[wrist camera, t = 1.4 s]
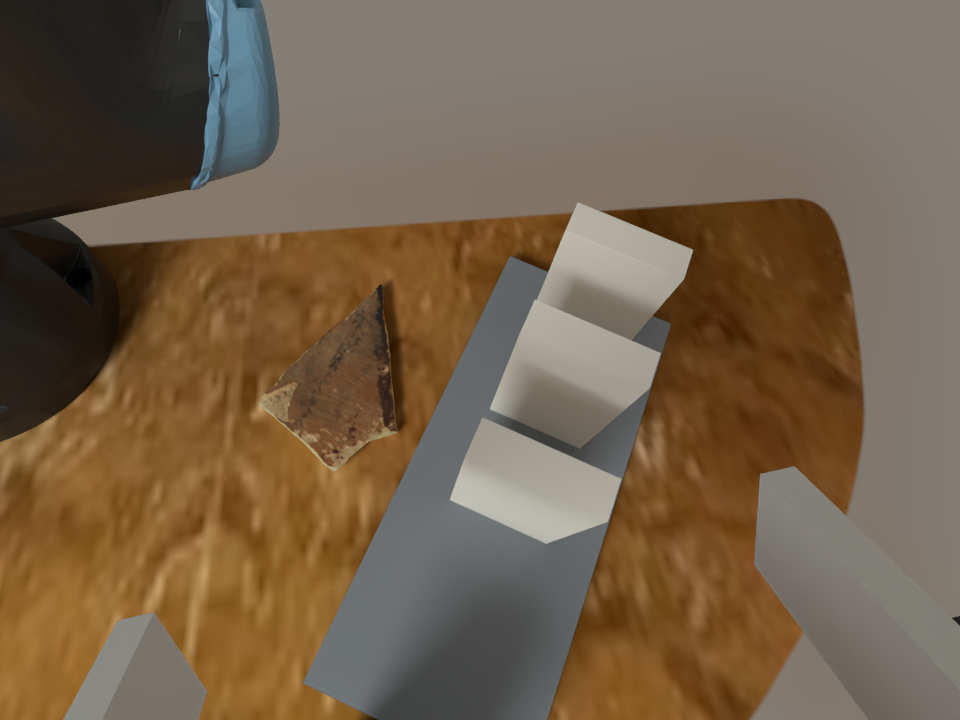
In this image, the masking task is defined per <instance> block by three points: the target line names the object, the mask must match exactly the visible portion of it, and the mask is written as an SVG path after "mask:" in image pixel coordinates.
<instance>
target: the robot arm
mask: <svg viewBox="0 0 960 720" xmlns="http://www.w3.org/2000/svg"><path fill="white" fill-rule="evenodd" d="M278 136H279V103H278V92H277V83H276V76H275V69H274V62H273V56H272V50H271V44H270V38H269V33H268V29H267V23H266V18H265V14H264V10H263V7H262V5H261V2H260V0H0V442H1V441H4V440H6V439H9V438H12V437H14V436H16V435H19V434H21V433H23V432H25V431H27V430H29V429H31V428H33V427H35V426H36V425H38V424H40V423H42V422H43V421H45V420H46V419H48V418H49V417H51V416H52V415H54V414H55V413H57V412H58V411H59V410H61V409H62V408H63V407H64V406H66V405H67V404H68V403H69V402H70V401H71V400H73V399H74V398H75V397H76V396H77V395H78V394H79V393H80V392H81V391H82V390H83V389H84V388H85V387H86V385H87V384H88V383H89V382H90V381H91V379H92V378H93V377H94V375H95V374H96V373H97V371H98V370H99V368H100V367H101V365H102V364H103V362H104V360H105V358H106V356H107V354H108V352H109V350H110V348H111V346H112V343H113V340H114V337H115V333H116V330H117V324H118V317H119V302H118V295H117V290H116V286H115V283H114V281H113V278H112V276H111V274H110V272H109V270H108V269H107V267H106V266H105V264H104V263H103V262H102V261H101V259H100V258H99V257H98V256H97V255H96V254H95V253H94V252H93V251H92V250H91V249H90V248H89V247H88V246H87V245H86V244H85V243H84V242H83V241H82V240H81V239H80V238H79V237H78V236H77V235H76V234H75V233H74V232H72V231H71V230H70V229H68V228H67V227H65V226H63V225H62V224H61V223H59V222H57V221H56V220H54V219H52V218H55V217H59V216H64V215H69V214H73V213H78V212H83V211H88V210H93V209H97V208H102V207H107V206H112V205H117V204H121V203H126V202H131V201H135V200H140V199H145V198H150V197H155V196H160V195H164V194H169V193H174V192H179V191H184V190H196V189H200V188H201V187H203V186H205V185H206V184H207V183H208V182H210V181H214V180H217V179H221V178H224V177H227V176H230V175H234V174H237V173H241V172H244V171H247V170H251V169H254V168H256V167H258V166H260V165H261V164H263V163H264V162H265V161H266V160H267V159H268V158H269V157H270V156H271V155H272V153H273V151H274V149H275V147H276V144H277V141H278ZM754 565H755V566H756V568H757V569H758V570H759V572H760V573H761V575H762V576H763V577H764V579H765V580H766V581H767V583H768V584H769V585H770V587H771V588H772V590H773V591H774V592H775V594H776V595H777V596H778V598H779V599H780V600H781V602H782V603H783V604H784V606H785V607H786V609H787V610H788V611H789V613H790V614H791V615H792V617H793V618H794V619H795V621H796V622H797V623H798V625H799V626H800V628H801V629H802V630H803V632H804V633H805V634H806V636H807V637H808V638H809V640H810V641H811V643H812V644H813V645H814V647H815V648H816V649H817V651H818V652H819V653H820V655H821V656H822V657H823V659H824V660H825V662H826V663H827V664H828V666H829V667H830V668H831V670H832V671H833V672H834V674H835V675H836V676H837V678H838V679H839V680H840V682H841V683H842V685H843V686H844V687H845V689H846V690H847V691H848V693H849V694H850V695H851V697H852V698H853V700H854V701H855V702H856V704H857V705H858V706H859V707H860V709H861V710H862V712H863V713H864V715H865V716H866V717H867V719H868V720H960V616H959V617H955V618H951V617H950V616H949V615H948V614H947V613H946V612H945V611H944V610H943V609H942V608H941V607H940V606H938V604H937V603H936V602H935V601H934V600H932V599H931V598H930V597H929V596H928V595H927V594H926V593H925V592H924V591H923V590H922V589H921V588H920V587H919V586H918V585H917V584H916V583H915V582H914V581H913V580H912V579H911V578H910V577H909V576H908V575H907V574H906V573H904V572H903V571H902V570H901V569H900V568H899V567H898V566H897V565H896V564H895V563H894V562H893V561H892V560H891V559H890V558H889V557H888V556H887V555H886V554H885V553H884V552H883V551H882V550H881V549H880V548H879V547H878V546H877V545H876V544H874V543H873V542H872V541H871V540H870V539H869V538H868V537H867V536H866V535H865V534H864V533H863V532H862V531H861V530H860V529H859V528H858V527H857V526H856V525H855V524H854V523H852V521H851V520H850V519H849V518H848V517H846V516H845V515H844V514H843V513H842V512H841V511H840V510H839V509H838V508H837V507H836V506H835V505H834V504H833V503H832V502H831V501H830V500H829V499H828V498H827V497H826V496H825V495H824V494H823V493H822V492H821V491H820V490H819V489H817V488H816V487H815V486H814V485H813V484H812V483H811V482H810V481H809V480H808V479H807V478H806V477H805V476H804V475H803V474H802V473H801V472H800V471H799V470H798V469H797V468H796V467H795V466H794V467H789V468H785V469H781V470H776V471H772V472H768V473H763V474H760V486H759V501H758V515H757V530H756V545H755V560H754ZM206 694H207V690H206V689H205V688H204V686H203V685H202V683H201V682H200V680H199V679H198V677H197V676H196V674H195V673H194V671H193V670H192V668H191V667H190V665H189V664H188V662H187V661H186V659H185V658H184V656H183V655H182V653H181V652H180V650H179V649H178V647H177V646H176V644H175V643H174V641H173V640H172V638H171V637H170V635H169V634H168V632H167V631H166V630H165V628H164V627H163V625H162V624H161V622H160V621H159V619H158V618H157V616H156V615H155V613H154V612H153V613H149V614H144V615H140V616H135V617H131V618H127V619H122V620H118V621H117V622H116V624H115V626H114V628H113V630H112V631H111V633H110V635H109V637H108V639H107V641H106V642H105V644H104V646H103V648H102V650H101V652H100V653H99V655H98V657H97V659H96V661H95V663H94V664H93V666H92V668H91V670H90V672H89V674H88V675H87V677H86V679H85V681H84V683H83V685H82V686H81V688H80V690H79V692H78V694H77V696H76V697H75V699H74V701H73V703H72V705H71V707H70V708H69V710H68V712H67V714H66V716H65V718H64V719H63V720H198V718H199V715H200V712H201V709H202V706H203V703H204V700H205V697H206Z"/></svg>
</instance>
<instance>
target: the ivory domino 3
mask: <svg viewBox="0 0 960 720" xmlns="http://www.w3.org/2000/svg"><path fill="white" fill-rule="evenodd" d="M620 482H621V478H619V477H616V476H614V475H612V474H609V473H607V472H605V471H603V470H600V469H598V468H596V467H594V466H591V465H589V464H587V463H585V462H582V461H580V460H578V459H576V458H573V457H571V456H569V455H567V454H564V453H562V452H560V451H557V450H555V449H553V448H551V447H548V446H546V445H544V444H542V443H539V442H537V441H535V440H533V439H530V438H528V437H526V436H524V435H521V434H519V433H517V432H515V431H512V430H510V429H508V428H506V427H503V426H501V425H499V424H496V423H494V422H492V421H490V420H487V419H485V418H483V417H482V420H481V422H480V424H479V426H478V429H477V431H476V433H475V435H474V438H473V440H472V442H471V444H470V447H469V449H468V451H467V454H466V456H465V458H464V461H463V464H462V466H461V469H460V472H459V475H458V478H457V480H456V483H455V486H454V489H453V492H452V494H451V497H450V500H451V501H453V502H455V503H458V504H460V505H462V506H464V507H466V508H469V509H471V510H473V511H475V512H477V513H480V514H482V515H484V516H486V517H488V518H491V519H493V520H495V521H497V522H499V523H502V524H504V525H506V526H508V527H510V528H513V529H515V530H517V531H519V532H521V533H524V534H526V535H528V536H530V537H532V538H535V539H537V540H539V541H541V542H543V543H546V544H547V543H550V542H552V541H555V540H558V539H561V538H564V537H567V536H569V535H572V534H575V533H578V532H581V531H584V530H587V529H589V528H592V527H595V526H598V525H601V524H604V523H606V522H608V520H609V517H610V514H611V510H612V507H613V504H614V501H615V498H616V494H617V491H618V488H619V485H620Z"/></svg>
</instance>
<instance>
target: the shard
mask: <svg viewBox="0 0 960 720" xmlns="http://www.w3.org/2000/svg"><path fill="white" fill-rule="evenodd" d="M383 302H384V294H383V287H382V285H381V284H380V285H379V286H378V288H376V289H375V290H374V291H373V292H372V293H371V294H370V295H369V296H368V297H367V298H366V299H364V300H363V301H362V302H361V303H360V304H359V306H358V307H357V308H356V309H355V311H353V312H352V313H350V315H349V316H347V317H346V318H345V319H344V320H343V321H341V322H340V323H339V324H338V325H337V326H335V327H333V328H332V329H331V330H329V331H328V332H327V333H326V334H325V335H324V336H323V337H322V338H321V339H320V340H319V341H318V342H317V343H316V344H314V345H312V346H311V347H310V348H309V349H308V350H306V351H305V352H304V353H303V354H302V356H301V357H300V358H299V359H298V360H297V361H295V362H294V363H293V364H292V365H291V366H290V367H289V368H288V369H287V370H286V371H285V372H284V373H283V374H282V375H281V376H280V379H279V381H278V382H277V383H276V384H275V385H274V386H272V387H271V388H270V389H269V390H268V391H267V392H266V393H265V394H264V395H263V397H262V399H261V401H260V403H259V405H261V406H262V407H263V408H264V410H266V411H267V412H268V413H270V414H271V415H273V416H274V417H275V418H276V420H278V421H279V422H280V423H281V424H282V425H284V426H285V427H286V428H287V429H288V430H289V431H291V433H292V434H294V435H295V436H296V437H297V438H299V439H300V440H301V441H302V442H303V443H304V444H305V445H306V446H307V447H308V448H309V449H310V450H311V451H312V452H313V453H314V454H315V455H316V456H317V457H318V458H319V459H320V460H321V461H322V463H323V464H324V465H325V466H327V467H328V468H330V469H332V470H333V471H337V470H338V469H339V468H340V467H341V466H342V465H344V464H345V463H346V461H347V460H348V459H349V458H350V457H351V456H352V455H353V454H355V453H356V452H357V451H358V450H359V449H361V448H362V447H363V446H364V445H365V444H366V443H368V442H369V441H372V440H376V439H380V438H382V437H385V436H390V435H393V434H395V433H397V432H398V426H397V423H396V415H395V400H394V392H393V385H392V377H391V367H390V357H391V354H390V351H389V339H388V331H387V328H386V322H385V317H384V311H383V309H384V307H383Z"/></svg>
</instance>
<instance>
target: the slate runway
mask: <svg viewBox="0 0 960 720" xmlns="http://www.w3.org/2000/svg"><path fill="white" fill-rule="evenodd" d="M547 274H548V272H547V271H544V270H542V269H540V268H537V267H535V266H533V265H530V264H528V263H525V262H523V261H521V260H518V259H516V258H514V257H511V256H510V257H509V259H508V261H507V263H506V265H505V267H504V269H503V272H502V274H501V276H500V278H499V280H498V282H497V284H496V286H495V288H494V290H493V292H492V294H491V296H490V298H489V300H488V302H487V304H486V307H485V309H484V311H483V313H482V315H481V317H480V319H479V321H478V323H477V325H476V327H475V329H474V331H473V333H472V335H471V337H470V340H469V342H468V344H467V346H466V348H465V350H464V352H463V354H462V356H461V358H460V360H459V362H458V364H457V366H456V368H455V370H454V373H453V375H452V377H451V379H450V381H449V383H448V385H447V387H446V389H445V391H444V393H443V395H442V397H441V399H440V401H439V403H438V405H437V408H436V410H435V412H434V414H433V416H432V418H431V420H430V422H429V424H428V426H427V428H426V430H425V432H424V434H423V436H422V438H421V441H420V443H419V445H418V447H417V449H416V451H415V453H414V455H413V457H412V459H411V461H410V463H409V465H408V467H407V469H406V471H405V474H404V476H403V478H402V480H401V482H400V484H399V486H398V488H397V490H396V492H395V494H394V496H393V498H392V500H391V502H390V504H389V506H388V509H387V511H386V513H385V515H384V517H383V519H382V521H381V523H380V525H379V527H378V529H377V531H376V533H375V535H374V537H373V539H372V542H371V544H370V546H369V548H368V550H367V552H366V554H365V556H364V558H363V560H362V562H361V564H360V566H359V568H358V570H357V572H356V575H355V577H354V579H353V581H352V583H351V585H350V587H349V589H348V591H347V593H346V595H345V597H344V599H343V601H342V603H341V605H340V607H339V610H338V612H337V614H336V616H335V618H334V620H333V622H332V624H331V626H330V628H329V630H328V632H327V634H326V636H325V638H324V640H323V643H322V645H321V647H320V649H319V651H318V653H317V655H316V657H315V659H314V661H313V663H312V665H311V667H310V669H309V671H308V673H307V676H306V678H305V680H304V682H303V683H304V684H306V685H308V686H310V687H312V688H314V689H316V690H318V691H320V692H322V693H324V694H326V695H328V696H330V697H332V698H335V699H337V700H339V701H341V702H343V703H345V704H347V705H349V706H351V707H353V708H355V709H357V710H359V711H361V712H363V713H365V714H367V715H369V716H372V717H374V718H376V719H378V720H547V718H548V715H549V712H550V709H551V706H552V702H553V699H554V696H555V693H556V690H557V687H558V683H559V680H560V677H561V674H562V671H563V667H564V664H565V661H566V658H567V655H568V651H569V648H570V645H571V642H572V639H573V635H574V632H575V629H576V626H577V623H578V619H579V616H580V613H581V610H582V607H583V604H584V600H585V597H586V594H587V591H588V588H589V584H590V581H591V578H592V575H593V572H594V568H595V565H596V562H597V559H598V556H599V552H600V549H601V546H602V543H603V540H604V536H605V533H606V530H607V527H608V524H609V521H610V517H611V514H612V511H613V508H614V505H615V501H616V498H617V495H618V492H619V489H620V485H621V482H622V479H623V476H624V473H625V469H626V466H627V463H628V460H629V457H630V454H631V450H632V447H633V444H634V441H635V438H636V434H637V431H638V428H639V425H640V422H641V418H642V415H643V412H644V409H645V406H646V402H647V399H648V396H649V393H650V390H651V386H652V383H653V380H654V377H655V374H656V371H657V367H658V364H659V361H660V358H661V355H662V351H663V348H664V345H665V342H666V339H667V335H668V332H669V329H670V326H671V324H670V323H668V322H666V321H663V320H661V319H658V318H656V317H654V316H652V317H651V318H650V319H649V320H648V322H647V323H646V324H645V325H644V326H643V327H642V329H641V330H640V331H639V332H638V333H637V334H636V336H635V337H634V338H633V339H632V340H631V341H634V342H636V343H638V344H641V345H643V346H645V347H648V348H650V349H652V350H655V351H657V352H660V353H661V354H660V358H659V361H658V364H657V367H656V370H655V374H654V377H653V380H652V383H651V386H650V389H648V390H647V391H646V392H645V393H644V394H643V395H641V396H640V397H639V398H638V399H637V400H636V401H634V402H633V403H632V404H631V405H630V406H629V407H628V408H626V409H625V410H624V411H623V412H622V413H621V414H619V415H618V416H617V417H616V418H615V419H614V420H613V421H611V422H610V423H609V424H608V425H607V426H606V427H604V428H603V429H602V430H601V431H600V432H599V433H597V434H596V435H595V436H594V437H593V438H592V439H591V440H589V441H588V442H587V443H586V444H585V445H584V446H582V447H581V448H580V449H579V448H577V447H575V446H572V445H570V444H568V443H566V442H563V441H561V440H559V439H556V438H554V437H552V436H550V435H547V434H545V433H543V432H541V431H538V430H536V429H534V428H532V427H529V426H527V425H525V424H522V423H520V422H518V421H516V420H513V419H511V418H509V417H507V416H504V415H502V414H500V413H498V412H495V411H493V410H491V409H490V407H491V404H492V402H493V399H494V397H495V394H496V392H497V389H498V387H499V384H500V382H501V379H502V377H503V374H504V372H505V369H506V367H507V364H508V362H509V359H510V357H511V354H512V352H513V349H514V347H515V344H516V342H517V339H518V337H519V334H520V332H521V330H522V327H523V325H524V323H525V321H526V318H527V316H528V314H529V311H530V309H531V307H532V305H533V302H534V300H537V298H538V296H539V293H540V291H541V289H542V286H543V284H544V281H545V279H546V276H547ZM482 417H483V418H485V419H487V420H490V421H492V422H494V423H496V424H499V425H501V426H503V427H506V428H508V429H510V430H512V431H515V432H517V433H519V434H521V435H524V436H526V437H528V438H530V439H533V440H535V441H537V442H539V443H542V444H544V445H546V446H548V447H551V448H553V449H555V450H557V451H560V452H562V453H564V454H567V455H569V456H571V457H573V458H576V459H578V460H580V461H582V462H585V463H587V464H589V465H591V466H594V467H596V468H598V469H600V470H603V471H605V472H607V473H609V474H612V475H614V476H616V477H619V478H621V482H620V485H619V488H618V491H617V494H616V498H615V501H614V504H613V507H612V510H611V514H610V517H609V520H608V522H606V523H604V524H601V525H598V526H595V527H592V528H589V529H587V530H584V531H581V532H578V533H575V534H572V535H569V536H567V537H564V538H561V539H558V540H555V541H552V542H550V543H547V544H546V543H543V542H541V541H539V540H537V539H535V538H532V537H530V536H528V535H526V534H524V533H521V532H519V531H517V530H515V529H513V528H510V527H508V526H506V525H504V524H502V523H499V522H497V521H495V520H493V519H491V518H488V517H486V516H484V515H482V514H480V513H477V512H475V511H473V510H471V509H469V508H466V507H464V506H462V505H460V504H458V503H455V502H453V501H451V500H450V497H451V494H452V492H453V489H454V486H455V483H456V480H457V478H458V475H459V472H460V469H461V466H462V464H463V461H464V458H465V456H466V454H467V451H468V449H469V447H470V444H471V442H472V440H473V438H474V435H475V433H476V431H477V429H478V426H479V424H480V422H481V420H482Z"/></svg>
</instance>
